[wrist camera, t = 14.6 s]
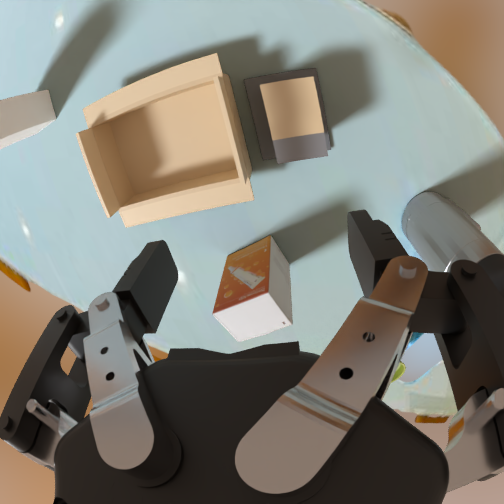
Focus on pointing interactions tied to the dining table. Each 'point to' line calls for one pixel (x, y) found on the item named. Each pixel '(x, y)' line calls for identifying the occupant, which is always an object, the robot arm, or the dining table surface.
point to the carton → (168, 145)
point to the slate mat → (260, 111)
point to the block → (294, 119)
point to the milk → (24, 116)
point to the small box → (255, 291)
